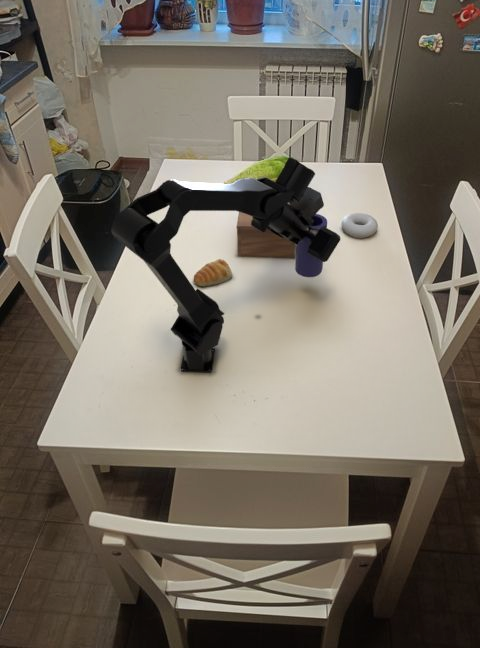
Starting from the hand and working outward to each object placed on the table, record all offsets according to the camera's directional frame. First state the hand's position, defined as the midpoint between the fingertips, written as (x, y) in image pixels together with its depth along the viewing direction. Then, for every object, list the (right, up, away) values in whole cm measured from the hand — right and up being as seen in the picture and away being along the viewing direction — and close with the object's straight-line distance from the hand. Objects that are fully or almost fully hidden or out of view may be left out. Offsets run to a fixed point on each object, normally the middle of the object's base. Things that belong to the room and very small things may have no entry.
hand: (314, 243), depth 115 cm
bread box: (-11, +4, +24) cm, 26 cm away
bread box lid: (-10, +10, +17) cm, 23 cm away
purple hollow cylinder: (-1, -5, +4) cm, 7 cm away
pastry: (-24, -7, +12) cm, 28 cm away
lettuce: (-12, +22, +44) cm, 51 cm away
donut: (+15, +8, +29) cm, 33 cm away
